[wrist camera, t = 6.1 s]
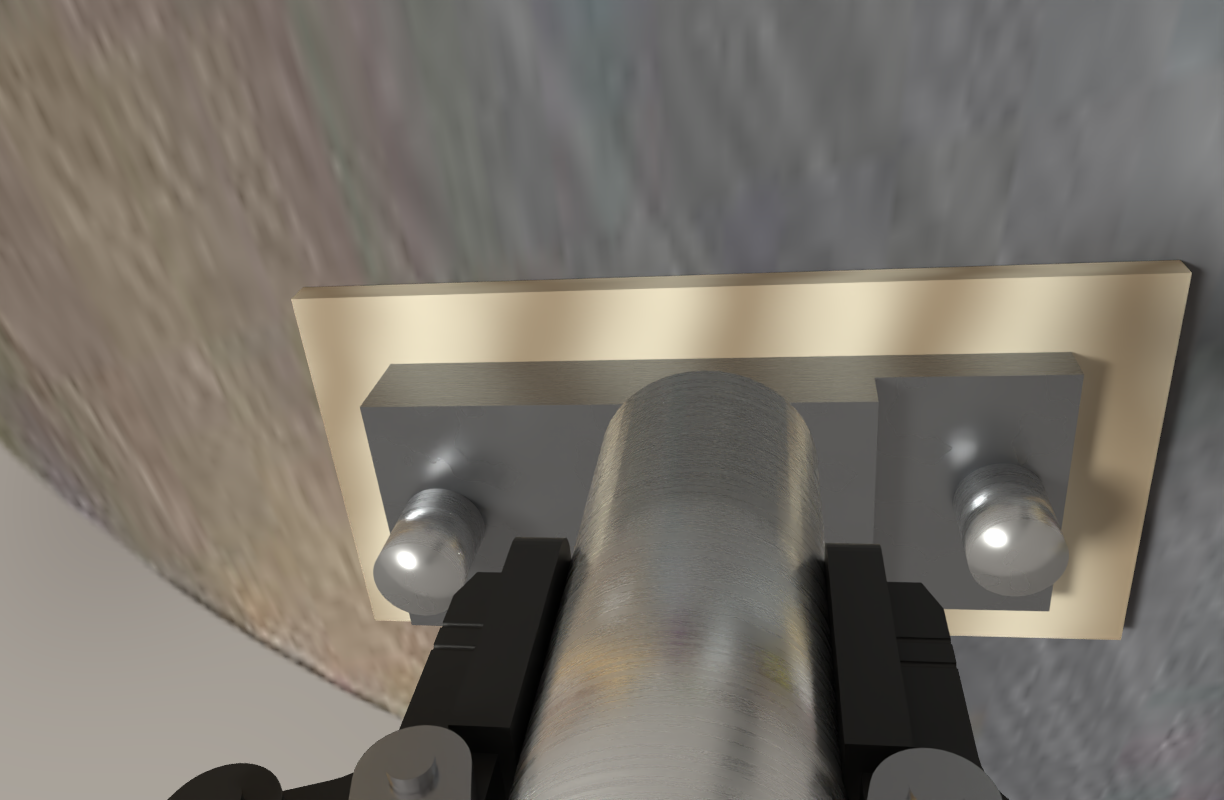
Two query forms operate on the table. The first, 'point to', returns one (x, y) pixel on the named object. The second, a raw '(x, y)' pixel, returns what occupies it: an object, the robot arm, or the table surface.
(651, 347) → the birch board
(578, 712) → the pin
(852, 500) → the knobbed grey block
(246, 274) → the table surface
